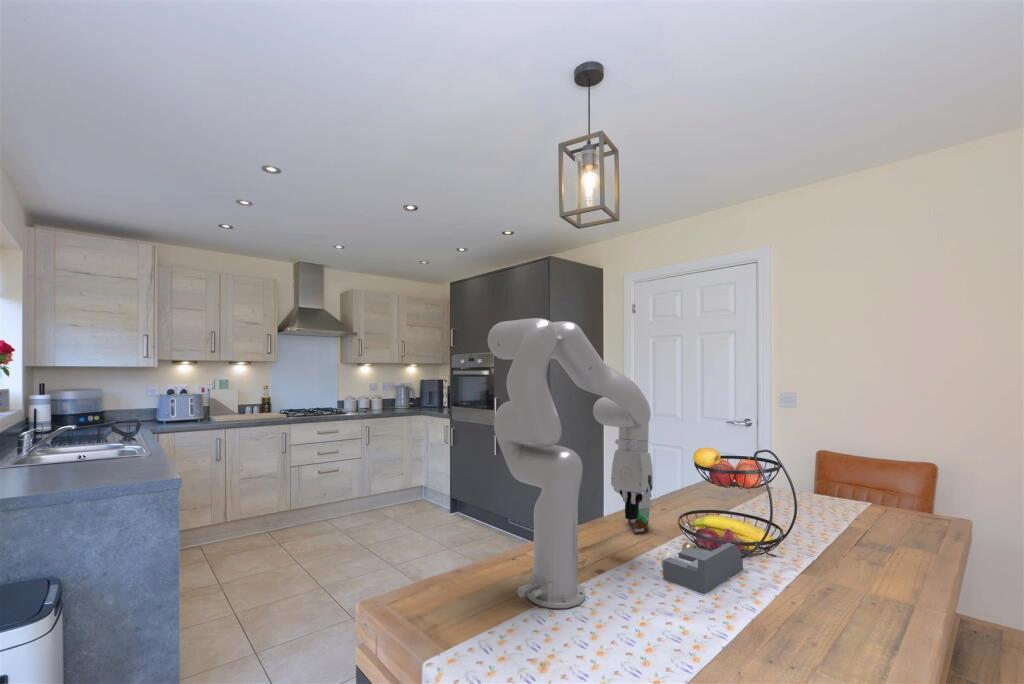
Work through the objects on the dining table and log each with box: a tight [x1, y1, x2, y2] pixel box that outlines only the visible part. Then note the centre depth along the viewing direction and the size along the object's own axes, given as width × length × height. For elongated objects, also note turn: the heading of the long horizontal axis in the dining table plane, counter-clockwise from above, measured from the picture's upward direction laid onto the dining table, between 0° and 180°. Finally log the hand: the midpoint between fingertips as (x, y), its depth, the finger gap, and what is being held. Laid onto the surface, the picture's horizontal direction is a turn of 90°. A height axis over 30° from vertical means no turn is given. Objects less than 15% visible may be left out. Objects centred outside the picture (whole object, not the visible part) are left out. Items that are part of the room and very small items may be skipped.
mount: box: [662, 537, 744, 594], centre depth 115 cm, size 20×10×7 cm, turn 132°
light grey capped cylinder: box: [660, 551, 691, 569], centre depth 113 cm, size 4×10×4 cm, turn 42°
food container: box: [627, 498, 653, 536], centre depth 147 cm, size 12×6×10 cm, turn 179°
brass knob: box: [681, 542, 711, 553], centre depth 120 cm, size 4×10×4 cm, turn 42°
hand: (631, 518), depth 123 cm, fingers closed
